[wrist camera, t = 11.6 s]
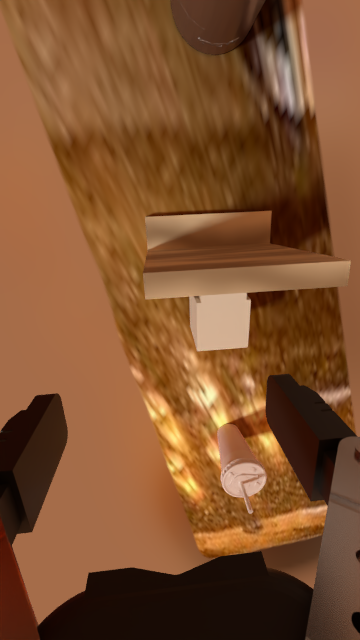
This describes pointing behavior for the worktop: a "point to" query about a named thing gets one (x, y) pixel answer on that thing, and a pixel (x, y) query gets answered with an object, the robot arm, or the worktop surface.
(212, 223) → the cleat board
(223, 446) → the smoothie
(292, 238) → the worktop surface
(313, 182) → the worktop surface
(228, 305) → the wall box
